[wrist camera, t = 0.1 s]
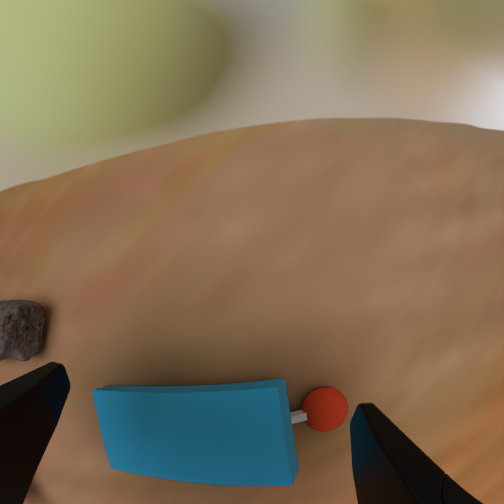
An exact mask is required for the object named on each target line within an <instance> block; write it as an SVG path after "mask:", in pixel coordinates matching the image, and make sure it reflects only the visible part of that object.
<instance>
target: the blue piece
mask: <svg viewBox="0 0 504 504" xmlns="http://www.w3.org/2000/svg"><path fill="white" fill-rule="evenodd" d="M93 397H94V402H95V406H96V411H97V416H98V420H99V424H100V428H101V433H102V436H103V440H104V444H105V448H106V451H107V455H108V458H109V462H110V465H111V468H113V469H117V470H121V471H126V472H130V473H135V474H140V475H145V476H151V477H156V478H163V479H169V480H176V481H184V482H192V483H202V484H214V485H231V486H289V485H292V484H293V482H294V479H295V476H296V473H297V470H298V462H297V455H296V448H295V441H294V434H293V428H292V424H294V423H298V422H302V421H305V422H306V423H307V425H308V426H309V427H311V428H312V429H315V430H317V431H323V432H324V431H330V430H333V429H335V428H337V427H338V426H340V425H341V424H342V423H343V422H344V420H345V418H346V416H347V413H348V403H347V400H346V398H345V397H344V395H343V394H342V393H341V392H340V391H338V390H336V389H334V388H319V389H317V390H314V391H313V392H311V393H310V394H309V395H308V396H307V397H306V399H305V401H304V403H303V406H302V410H299V411H295V412H290V408H289V401H288V394H287V388H286V381H285V379H284V378H282V379H273V380H264V381H254V382H243V383H231V384H216V385H195V386H107V387H103V388H98V389H94V390H93Z"/></svg>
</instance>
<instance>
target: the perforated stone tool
mask: <svg viewBox="0 0 504 504" xmlns="http://www.w3.org/2000/svg"><path fill="white" fill-rule="evenodd" d="M44 322H45V318H44V309H43V307H42V306H41V305H40V304H38V303H36V302H33V301H25V300H9V301H0V360H2V359H5V358H8V357H11V358H14V359H17V360H20V361H27V360H29V359H30V357H32V356H33V355H34V354H35V353H37V352H38V351H40V349H41V341H42V330H43V328H44Z"/></svg>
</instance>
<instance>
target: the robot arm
mask: <svg viewBox="0 0 504 504" xmlns="http://www.w3.org/2000/svg"><path fill="white" fill-rule="evenodd" d="M69 391H70V381H69V378H68V375H67V373H66V370H65V367H64V366H63V365H62V364H60V363H56V362H50V363H48V364H46V365H44V366H42V367H39V368H37V369H35V370H33V371H31V372H29V373H27V374H25V375H22V376H20V377H18V378H16V379H14V380H12V381H9V382H7V383H5V384H3V385H1V386H0V504H23V503H24V500H25V497H26V495H27V492H28V490H29V487H30V485H31V482H32V480H33V477H34V475H35V473H36V470H37V468H38V466H39V463H40V461H41V459H42V456H43V454H44V452H45V450H46V448H47V445H48V443H49V441H50V439H51V437H52V435H53V433H54V430H55V428H56V426H57V423H58V421H59V418H60V415H61V412H62V409H63V407H64V404H65V401H66V399H67V396H68V393H69ZM350 435H351V452H352V469H353V476H354V482H355V488H356V494H357V500H358V504H483V503H481V502H480V501H479V500H477V499H476V498H474V497H473V496H472V495H470V494H469V493H468V492H467V491H465V490H464V489H463V488H462V487H461V486H459V485H458V484H457V483H456V482H455V481H454V480H453V479H451V478H450V477H449V476H448V475H447V474H445V472H444V471H443V470H442V469H441V468H440V467H439V466H438V465H436V464H435V463H434V462H433V461H432V460H431V459H430V458H429V457H428V456H427V455H426V454H425V453H424V452H423V451H422V450H421V449H420V448H419V447H418V446H416V445H415V444H414V443H413V442H412V441H411V440H410V439H409V438H408V437H407V436H406V435H405V434H404V433H403V432H402V431H401V430H400V429H399V428H398V427H397V426H396V425H395V424H394V423H393V422H392V421H391V420H390V419H389V418H388V417H386V416H385V415H384V414H383V413H382V412H381V411H380V410H379V409H378V408H377V407H376V406H375V405H374V404H373V403H360V404H359V405H358V406H357V408H356V410H355V413H354V415H353V417H352V420H351V423H350Z"/></svg>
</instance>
